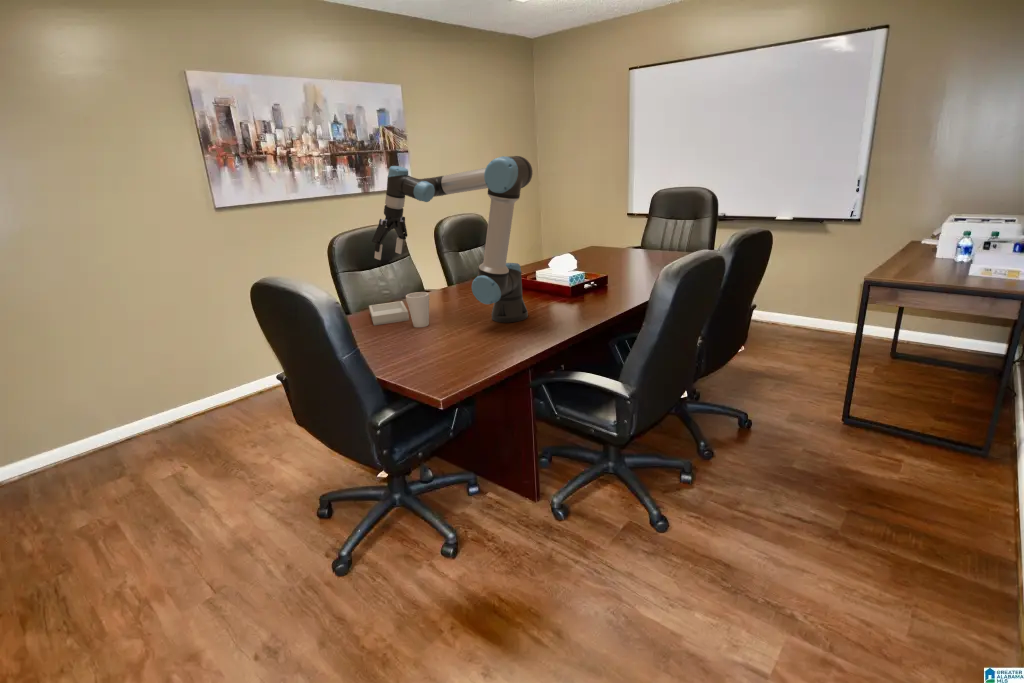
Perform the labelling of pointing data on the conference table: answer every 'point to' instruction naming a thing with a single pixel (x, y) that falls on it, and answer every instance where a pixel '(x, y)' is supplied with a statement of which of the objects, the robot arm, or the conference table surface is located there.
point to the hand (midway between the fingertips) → (388, 256)
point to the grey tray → (388, 313)
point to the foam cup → (419, 308)
